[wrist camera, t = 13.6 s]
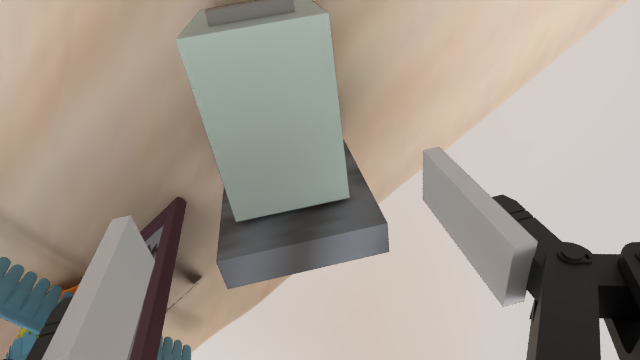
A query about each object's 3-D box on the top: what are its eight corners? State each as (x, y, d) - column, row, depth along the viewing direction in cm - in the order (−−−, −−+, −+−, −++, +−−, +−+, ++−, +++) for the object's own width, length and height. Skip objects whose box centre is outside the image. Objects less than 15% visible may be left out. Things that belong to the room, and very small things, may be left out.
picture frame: (178, 196, 40) (102, 458, 19) (244, 241, 45) (242, 490, 24) (88, 281, 44) (-57, 575, 23) (158, 314, 49) (91, 584, 28)
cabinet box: (239, 145, 35) (236, 221, 25) (197, -1, 28) (169, 22, 18) (320, 129, 36) (349, 197, 26) (299, -19, 29) (326, -5, 19)
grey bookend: (235, 160, 39) (227, 289, 24) (197, 39, 33) (153, 111, 17) (335, 139, 40) (389, 251, 25) (318, 16, 33) (378, 67, 18)
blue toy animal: (-65, 253, 39) (-217, 397, 26) (-18, 205, 37) (-156, 335, 24) (155, 353, 53) (126, 479, 40) (197, 322, 51) (181, 444, 38)
